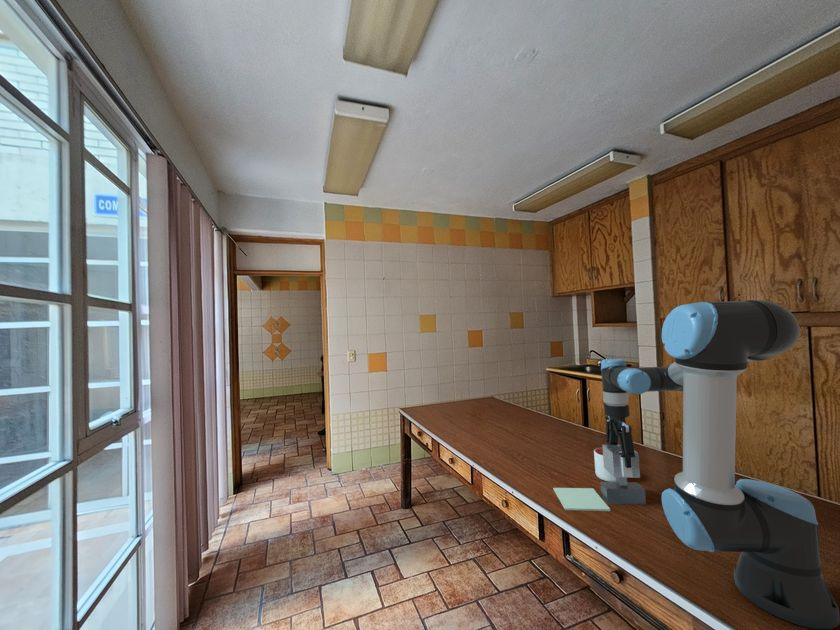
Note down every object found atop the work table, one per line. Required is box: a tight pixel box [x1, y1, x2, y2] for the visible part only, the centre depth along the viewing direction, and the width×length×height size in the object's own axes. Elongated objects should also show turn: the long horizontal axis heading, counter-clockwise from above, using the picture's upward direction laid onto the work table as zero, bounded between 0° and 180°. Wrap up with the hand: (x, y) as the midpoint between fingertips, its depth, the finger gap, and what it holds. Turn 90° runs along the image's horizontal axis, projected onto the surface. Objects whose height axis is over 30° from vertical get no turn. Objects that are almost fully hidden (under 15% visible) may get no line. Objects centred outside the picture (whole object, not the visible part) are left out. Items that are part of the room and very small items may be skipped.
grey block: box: [599, 477, 647, 506], centre depth 112 cm, size 5×12×15 cm, turn 83°
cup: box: [593, 447, 616, 482], centre depth 129 cm, size 10×10×10 cm
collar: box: [601, 444, 641, 479], centre depth 112 cm, size 8×8×8 cm
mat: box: [553, 487, 611, 512], centre depth 114 cm, size 14×14×1 cm
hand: (621, 471), depth 112 cm, fingers closed on collar, 8 cm apart
